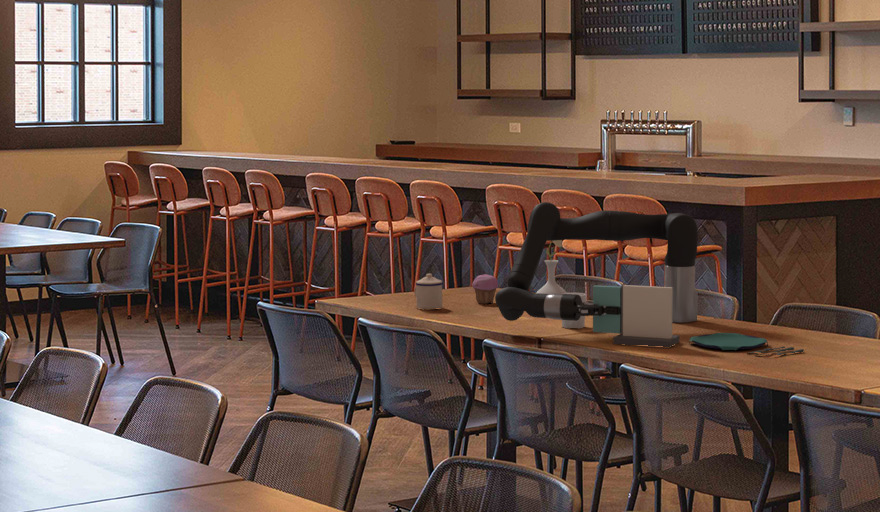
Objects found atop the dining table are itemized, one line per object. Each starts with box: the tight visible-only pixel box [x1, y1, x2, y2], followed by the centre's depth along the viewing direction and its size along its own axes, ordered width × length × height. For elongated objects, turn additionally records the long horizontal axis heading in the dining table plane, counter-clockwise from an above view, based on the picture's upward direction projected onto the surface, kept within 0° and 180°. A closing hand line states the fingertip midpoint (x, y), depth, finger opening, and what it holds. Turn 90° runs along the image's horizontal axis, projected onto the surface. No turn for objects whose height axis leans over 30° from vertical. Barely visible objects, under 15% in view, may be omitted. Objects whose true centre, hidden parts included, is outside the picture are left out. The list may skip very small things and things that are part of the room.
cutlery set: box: [689, 332, 805, 355], centre depth 337 cm, size 20×30×2 cm, turn 33°
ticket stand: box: [612, 284, 680, 347], centre depth 345 cm, size 16×10×16 cm, turn 64°
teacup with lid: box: [414, 273, 443, 309], centre depth 417 cm, size 12×9×12 cm
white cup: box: [561, 292, 587, 329], centre depth 375 cm, size 8×8×10 cm
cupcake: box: [471, 273, 499, 305], centre depth 427 cm, size 9×9×10 cm
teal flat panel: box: [592, 284, 621, 335], centre depth 350 cm, size 8×2×13 cm, turn 64°
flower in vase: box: [535, 240, 568, 294], centre depth 432 cm, size 13×11×25 cm
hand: (621, 310), depth 348 cm, fingers closed on teal flat panel, 2 cm apart
